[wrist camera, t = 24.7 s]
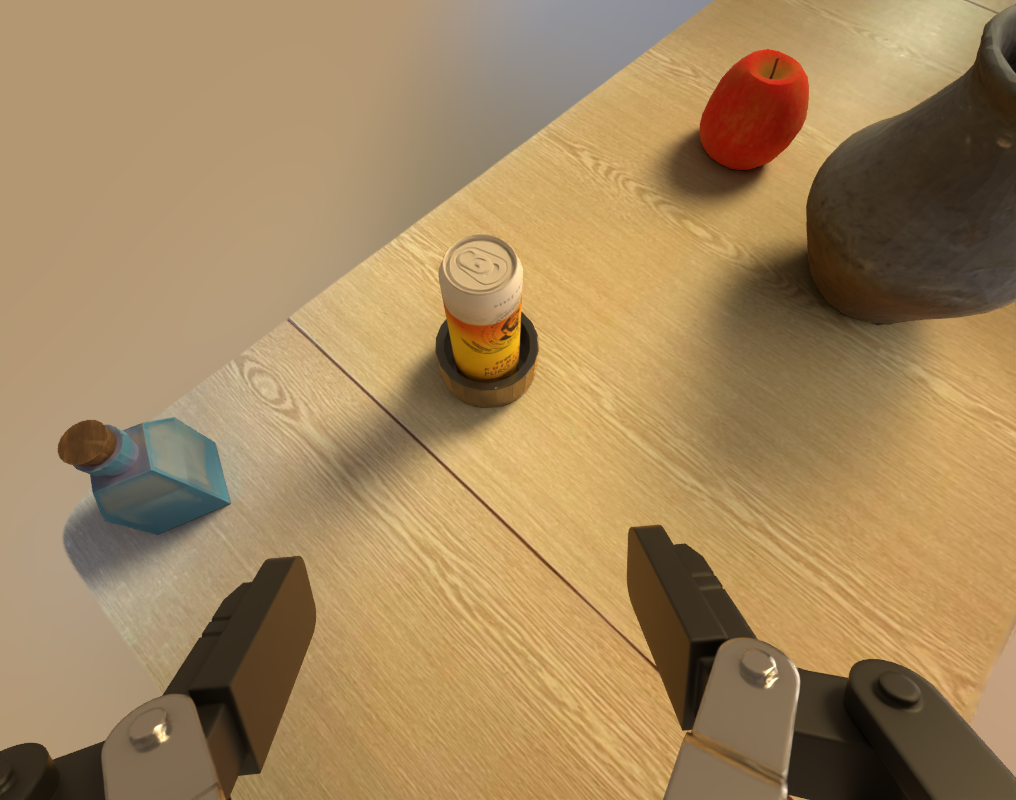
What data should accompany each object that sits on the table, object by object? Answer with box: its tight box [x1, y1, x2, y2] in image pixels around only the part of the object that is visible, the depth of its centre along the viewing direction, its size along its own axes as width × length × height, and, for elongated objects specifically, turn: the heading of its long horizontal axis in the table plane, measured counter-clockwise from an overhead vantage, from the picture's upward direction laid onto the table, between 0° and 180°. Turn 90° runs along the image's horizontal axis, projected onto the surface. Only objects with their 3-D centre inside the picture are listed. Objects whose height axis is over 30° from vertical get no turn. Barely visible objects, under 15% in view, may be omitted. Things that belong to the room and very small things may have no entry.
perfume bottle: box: [58, 417, 230, 535], centre depth 39 cm, size 6×6×12 cm
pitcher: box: [806, 4, 1016, 325], centre depth 42 cm, size 21×22×25 cm
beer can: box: [439, 234, 523, 382], centre depth 42 cm, size 6×6×15 cm
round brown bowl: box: [436, 312, 539, 408], centre depth 48 cm, size 9×9×4 cm
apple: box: [699, 49, 809, 170], centre depth 57 cm, size 11×11×11 cm
